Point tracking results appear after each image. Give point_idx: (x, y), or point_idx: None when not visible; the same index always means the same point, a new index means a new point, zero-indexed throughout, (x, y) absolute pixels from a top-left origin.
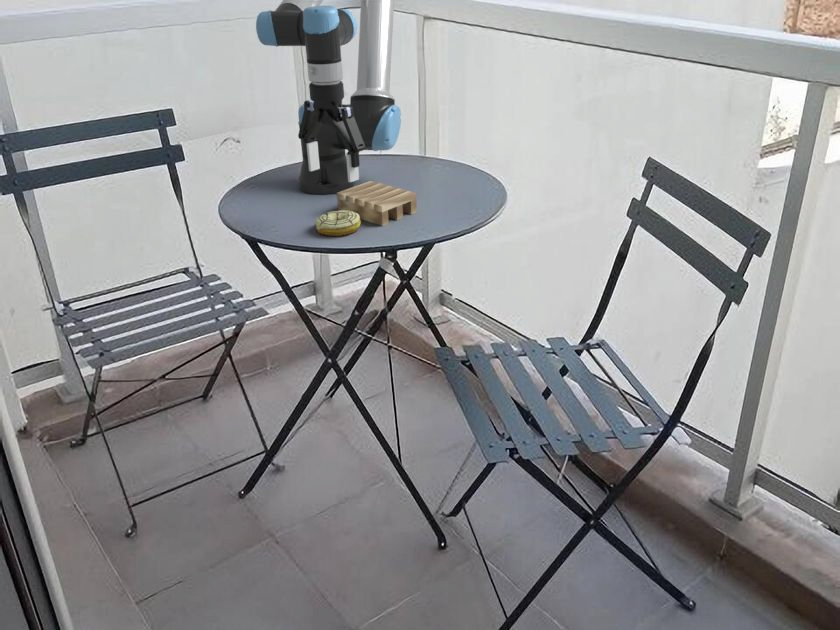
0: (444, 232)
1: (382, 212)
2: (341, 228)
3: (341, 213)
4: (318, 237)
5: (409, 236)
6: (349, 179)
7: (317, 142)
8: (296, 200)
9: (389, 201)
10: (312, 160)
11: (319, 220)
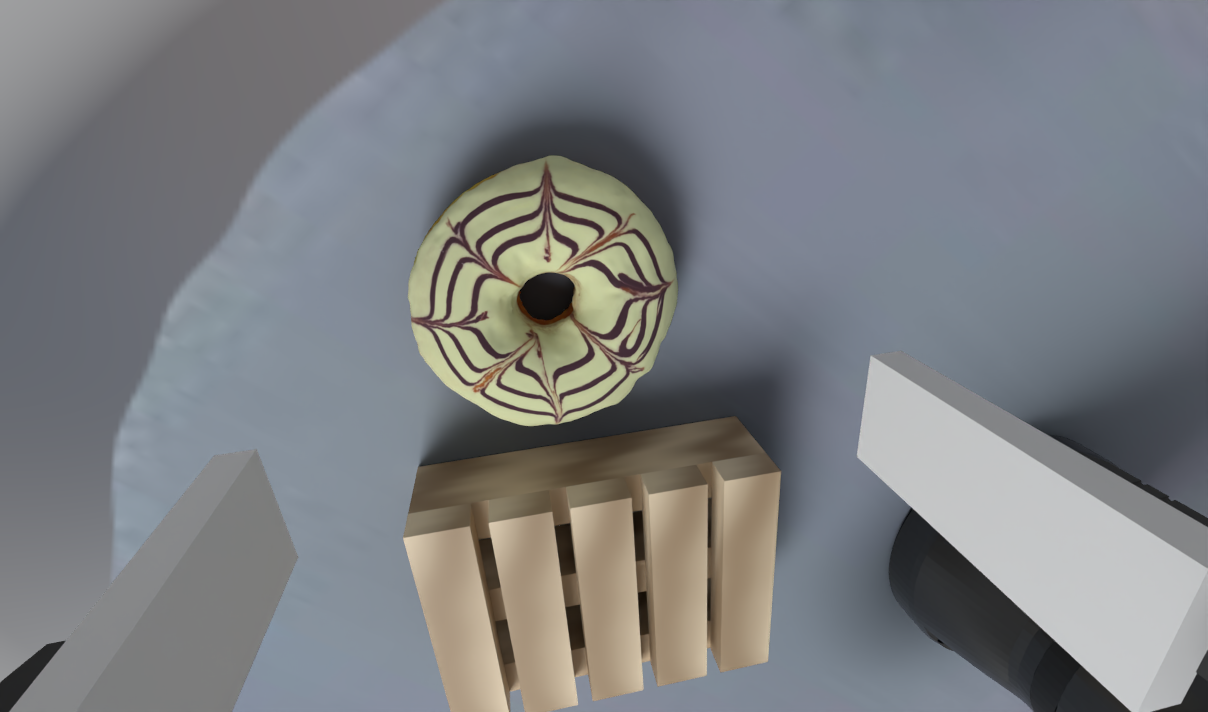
0: None
1: (409, 515)
2: (421, 244)
3: (574, 354)
4: (525, 131)
5: None
6: (218, 472)
7: (1122, 703)
8: (1000, 358)
9: (445, 600)
10: (947, 440)
11: (586, 194)
